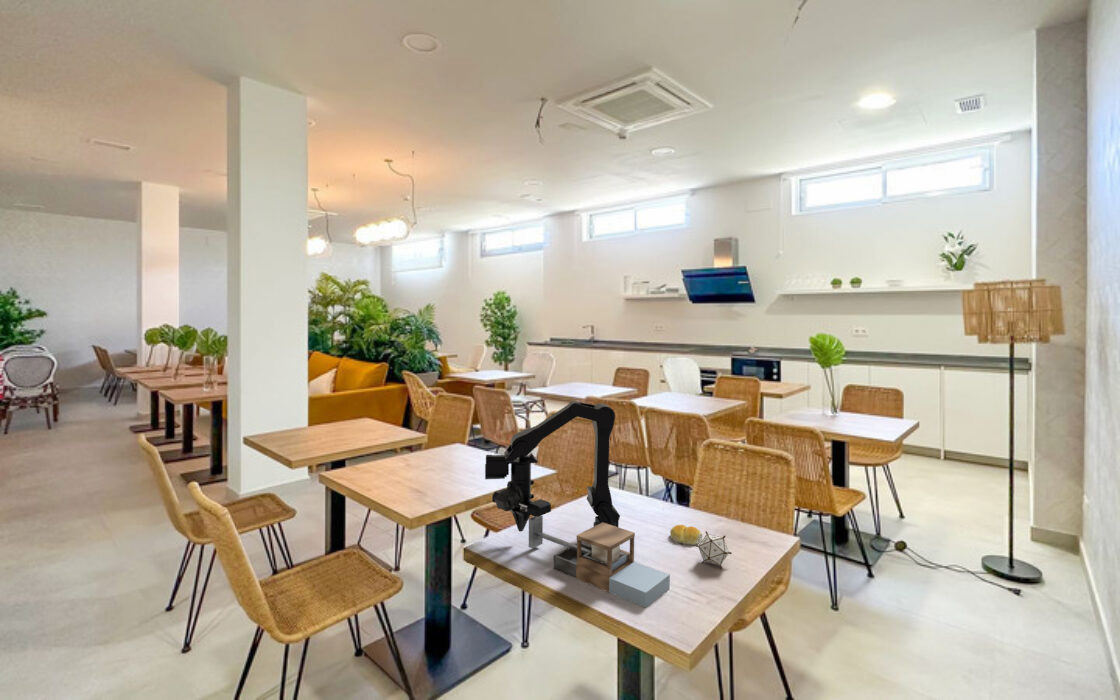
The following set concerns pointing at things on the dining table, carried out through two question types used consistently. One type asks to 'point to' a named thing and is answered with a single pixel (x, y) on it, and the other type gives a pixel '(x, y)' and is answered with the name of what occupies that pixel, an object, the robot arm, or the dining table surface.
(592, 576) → the tunnel
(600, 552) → the block
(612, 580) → the pad
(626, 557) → the slider
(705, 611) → the dining table surface
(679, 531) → the bread roll
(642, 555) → the dining table surface
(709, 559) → the game die
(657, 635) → the dining table surface
